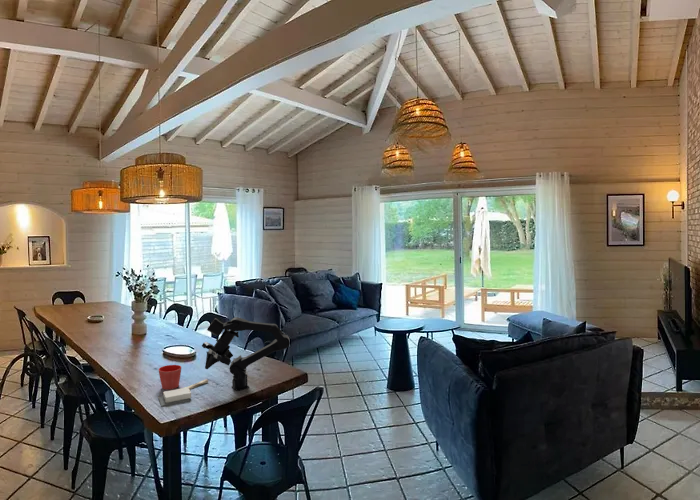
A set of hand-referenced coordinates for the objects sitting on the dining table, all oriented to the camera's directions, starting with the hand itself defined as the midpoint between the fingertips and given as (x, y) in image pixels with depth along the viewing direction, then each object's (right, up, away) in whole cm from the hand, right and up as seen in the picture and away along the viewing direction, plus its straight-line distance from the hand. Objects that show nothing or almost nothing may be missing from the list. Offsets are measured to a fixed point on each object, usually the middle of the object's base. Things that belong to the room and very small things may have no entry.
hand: (206, 368), depth 214 cm
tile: (-6, -10, -4) cm, 13 cm away
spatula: (-9, -11, +7) cm, 16 cm away
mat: (-12, -12, -8) cm, 19 cm away
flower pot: (-20, -11, +8) cm, 25 cm away
